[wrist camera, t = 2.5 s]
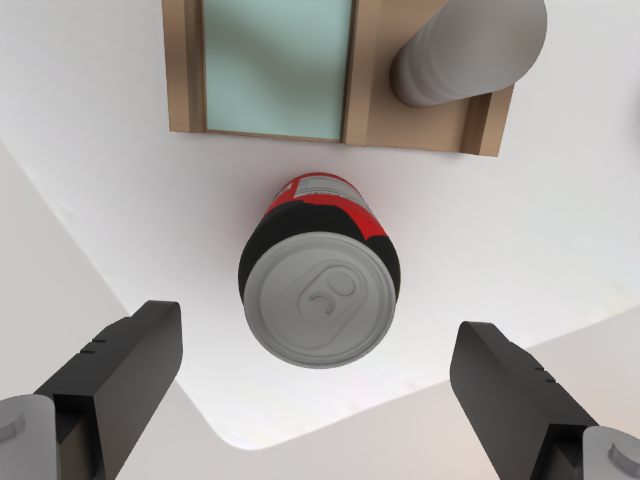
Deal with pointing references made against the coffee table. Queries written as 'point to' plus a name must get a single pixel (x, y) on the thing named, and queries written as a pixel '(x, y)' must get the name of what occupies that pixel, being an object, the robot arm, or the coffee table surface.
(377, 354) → the coffee table surface
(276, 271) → the beverage can
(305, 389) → the coffee table surface
